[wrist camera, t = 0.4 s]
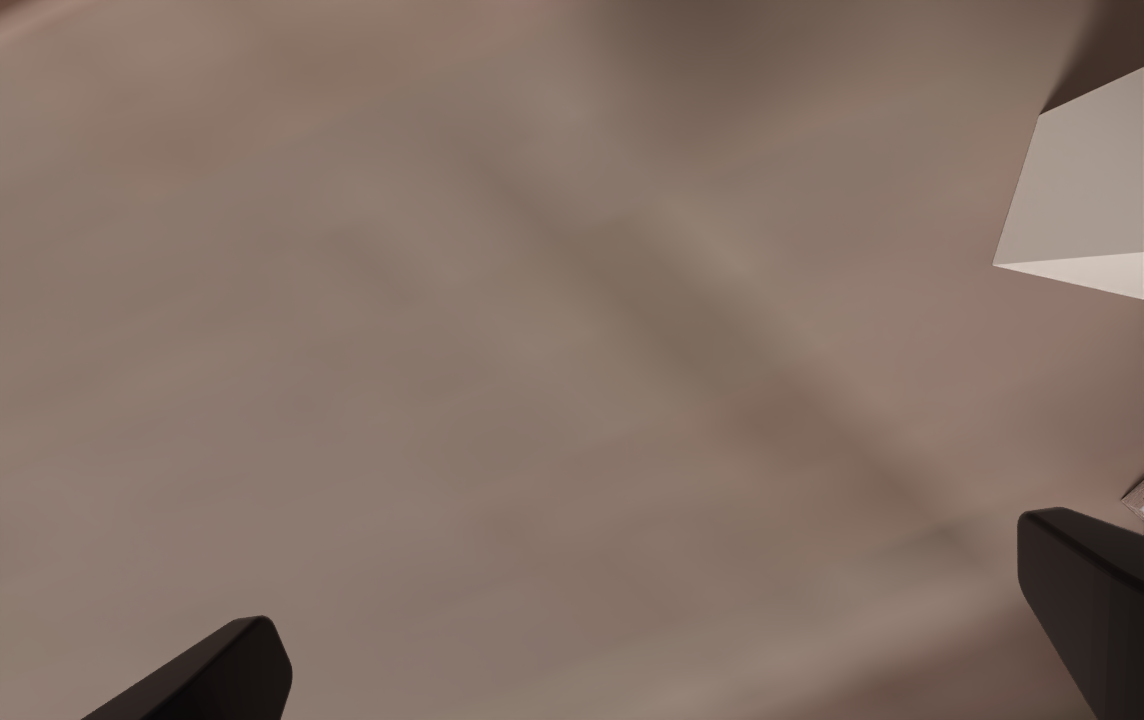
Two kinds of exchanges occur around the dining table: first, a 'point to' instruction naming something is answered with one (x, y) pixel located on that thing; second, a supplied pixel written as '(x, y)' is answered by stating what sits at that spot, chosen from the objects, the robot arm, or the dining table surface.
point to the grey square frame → (1136, 500)
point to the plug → (1083, 193)
